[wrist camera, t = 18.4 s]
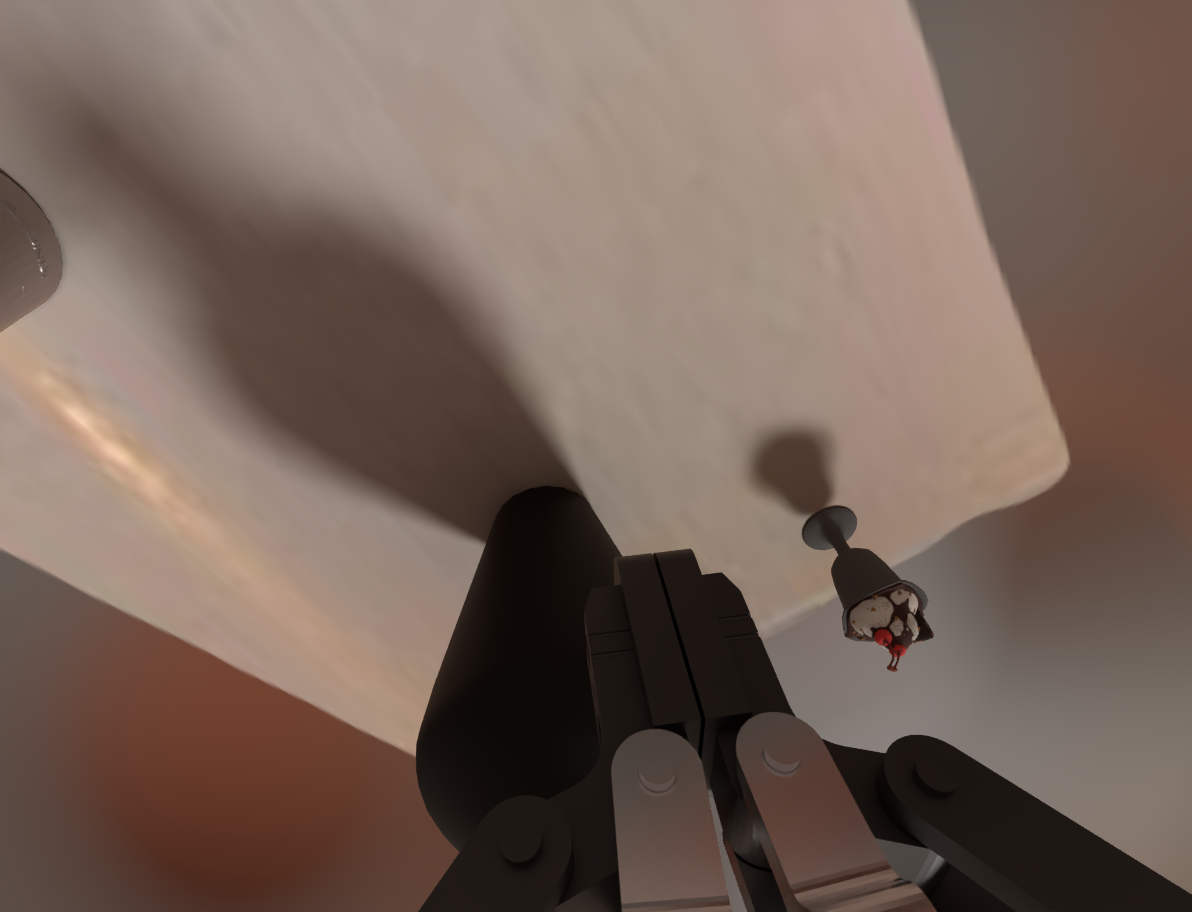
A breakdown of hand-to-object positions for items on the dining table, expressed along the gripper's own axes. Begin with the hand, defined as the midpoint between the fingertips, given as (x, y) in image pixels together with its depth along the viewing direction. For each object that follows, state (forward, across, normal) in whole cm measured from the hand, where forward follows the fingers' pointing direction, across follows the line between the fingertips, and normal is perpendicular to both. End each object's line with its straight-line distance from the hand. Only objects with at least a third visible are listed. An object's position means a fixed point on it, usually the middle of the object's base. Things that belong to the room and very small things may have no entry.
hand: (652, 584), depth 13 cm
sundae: (+32, +23, -30) cm, 50 cm away
